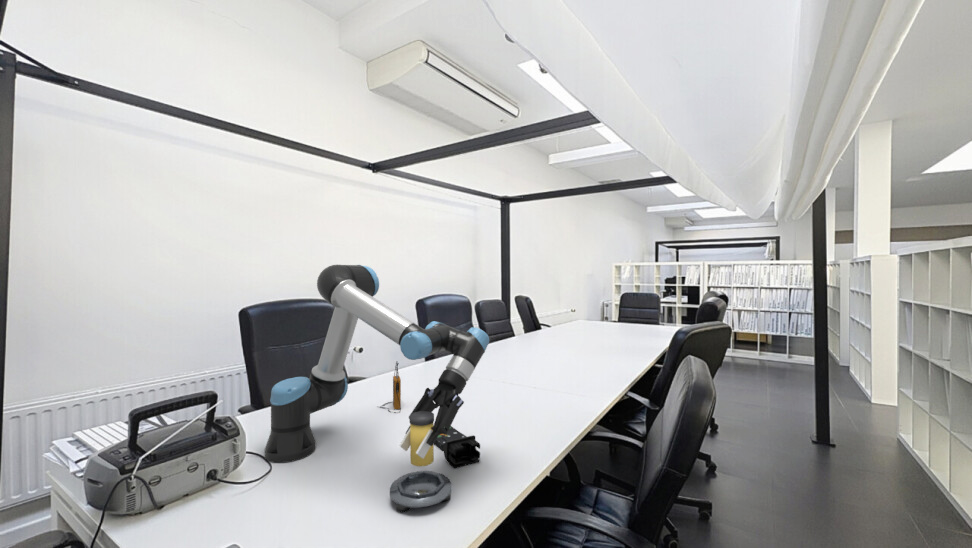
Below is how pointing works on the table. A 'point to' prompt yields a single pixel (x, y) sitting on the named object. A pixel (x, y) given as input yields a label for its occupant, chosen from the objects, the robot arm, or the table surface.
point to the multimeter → (396, 391)
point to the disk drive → (448, 437)
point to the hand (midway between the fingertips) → (411, 451)
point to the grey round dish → (420, 490)
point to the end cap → (461, 452)
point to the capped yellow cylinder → (420, 436)
